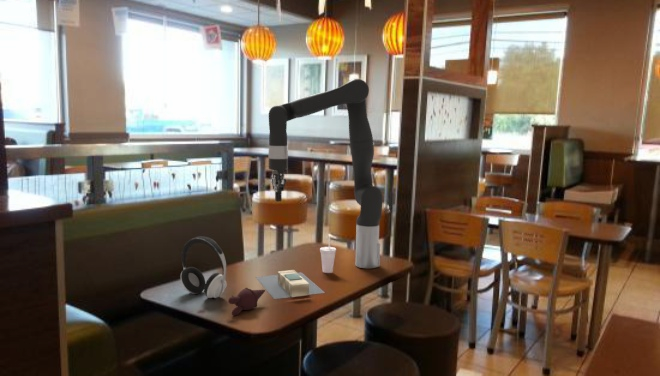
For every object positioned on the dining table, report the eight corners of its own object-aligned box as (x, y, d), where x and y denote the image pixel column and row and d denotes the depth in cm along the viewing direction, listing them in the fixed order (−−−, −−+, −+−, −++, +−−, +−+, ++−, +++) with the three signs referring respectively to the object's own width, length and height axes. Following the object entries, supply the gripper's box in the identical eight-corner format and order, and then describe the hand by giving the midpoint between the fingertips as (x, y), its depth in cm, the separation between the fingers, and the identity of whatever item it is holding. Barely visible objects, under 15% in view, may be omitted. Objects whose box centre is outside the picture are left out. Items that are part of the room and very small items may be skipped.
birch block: (277, 270, 176) (292, 284, 162) (293, 269, 179) (309, 282, 164) (277, 282, 177) (291, 297, 162) (293, 280, 179) (309, 294, 165)
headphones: (234, 297, 163) (233, 238, 160) (216, 305, 155) (215, 243, 153) (191, 286, 172) (191, 230, 169) (173, 293, 165) (172, 235, 162)
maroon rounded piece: (254, 280, 161) (219, 297, 149) (270, 279, 156) (235, 296, 144) (259, 300, 161) (225, 319, 149) (275, 300, 157) (241, 319, 145)
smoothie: (334, 276, 187) (334, 240, 185) (317, 274, 188) (318, 239, 187) (337, 271, 193) (338, 236, 192) (321, 269, 195) (321, 235, 193)
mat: (255, 278, 182) (255, 277, 182) (301, 273, 189) (301, 272, 189) (274, 300, 160) (274, 299, 160) (325, 294, 167) (325, 292, 167)
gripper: (292, 158, 187) (292, 203, 189) (282, 155, 199) (282, 198, 202) (273, 158, 184) (273, 204, 187) (264, 156, 196) (264, 199, 199)
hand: (278, 201), depth 194 cm, fingers closed
